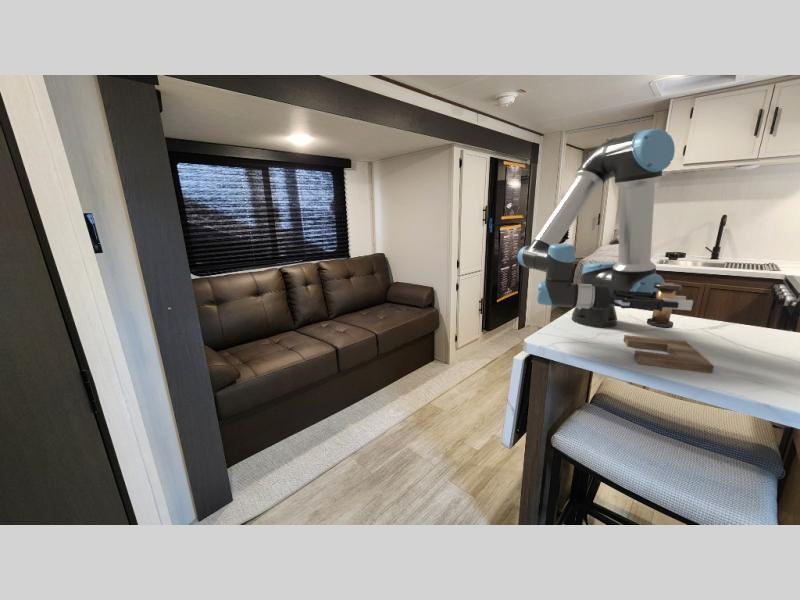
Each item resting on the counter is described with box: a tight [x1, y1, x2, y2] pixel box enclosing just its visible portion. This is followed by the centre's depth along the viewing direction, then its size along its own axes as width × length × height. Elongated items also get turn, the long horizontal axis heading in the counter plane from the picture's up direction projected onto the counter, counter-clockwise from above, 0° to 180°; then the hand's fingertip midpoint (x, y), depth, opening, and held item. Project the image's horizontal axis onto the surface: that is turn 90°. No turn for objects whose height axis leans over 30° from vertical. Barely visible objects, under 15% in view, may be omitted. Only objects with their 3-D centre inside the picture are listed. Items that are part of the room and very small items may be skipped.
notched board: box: [623, 334, 715, 374], centre depth 95 cm, size 18×16×2 cm
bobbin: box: [646, 281, 682, 329], centre depth 92 cm, size 6×6×12 cm
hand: (687, 303), depth 89 cm, fingers closed on bobbin, 4 cm apart
